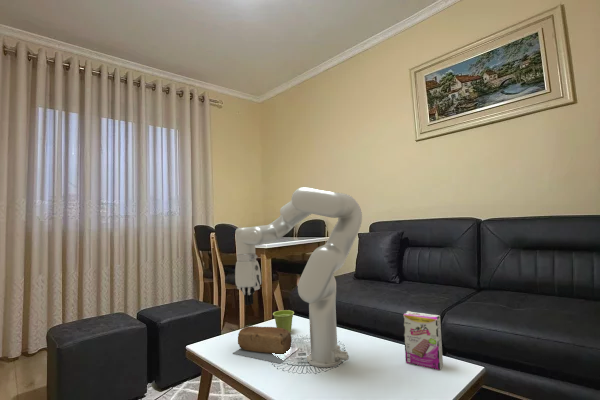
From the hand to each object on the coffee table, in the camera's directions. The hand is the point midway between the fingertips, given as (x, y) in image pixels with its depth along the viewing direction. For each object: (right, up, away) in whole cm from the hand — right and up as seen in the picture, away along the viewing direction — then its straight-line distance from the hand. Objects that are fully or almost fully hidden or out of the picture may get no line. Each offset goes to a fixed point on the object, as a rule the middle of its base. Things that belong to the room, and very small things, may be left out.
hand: (249, 304), depth 129 cm
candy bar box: (+62, -14, -21) cm, 67 cm away
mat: (+7, -17, -5) cm, 19 cm away
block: (-3, -13, +2) cm, 14 cm away
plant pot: (+13, -18, +15) cm, 27 cm away
